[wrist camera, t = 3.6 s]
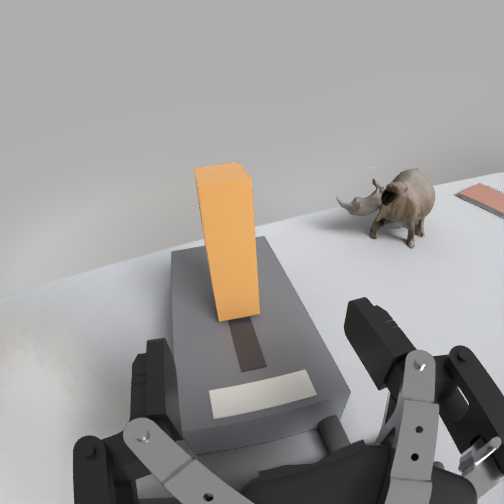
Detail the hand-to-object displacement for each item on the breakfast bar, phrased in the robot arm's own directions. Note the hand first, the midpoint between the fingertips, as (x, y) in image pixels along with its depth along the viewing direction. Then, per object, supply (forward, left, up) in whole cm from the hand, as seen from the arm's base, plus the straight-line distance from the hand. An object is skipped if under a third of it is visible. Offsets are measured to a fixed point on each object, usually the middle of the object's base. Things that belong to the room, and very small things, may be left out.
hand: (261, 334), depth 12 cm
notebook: (+63, +20, -11) cm, 67 cm away
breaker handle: (0, +9, -6) cm, 11 cm away
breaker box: (0, +9, -10) cm, 14 cm away
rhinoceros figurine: (+24, +21, -10) cm, 34 cm away
